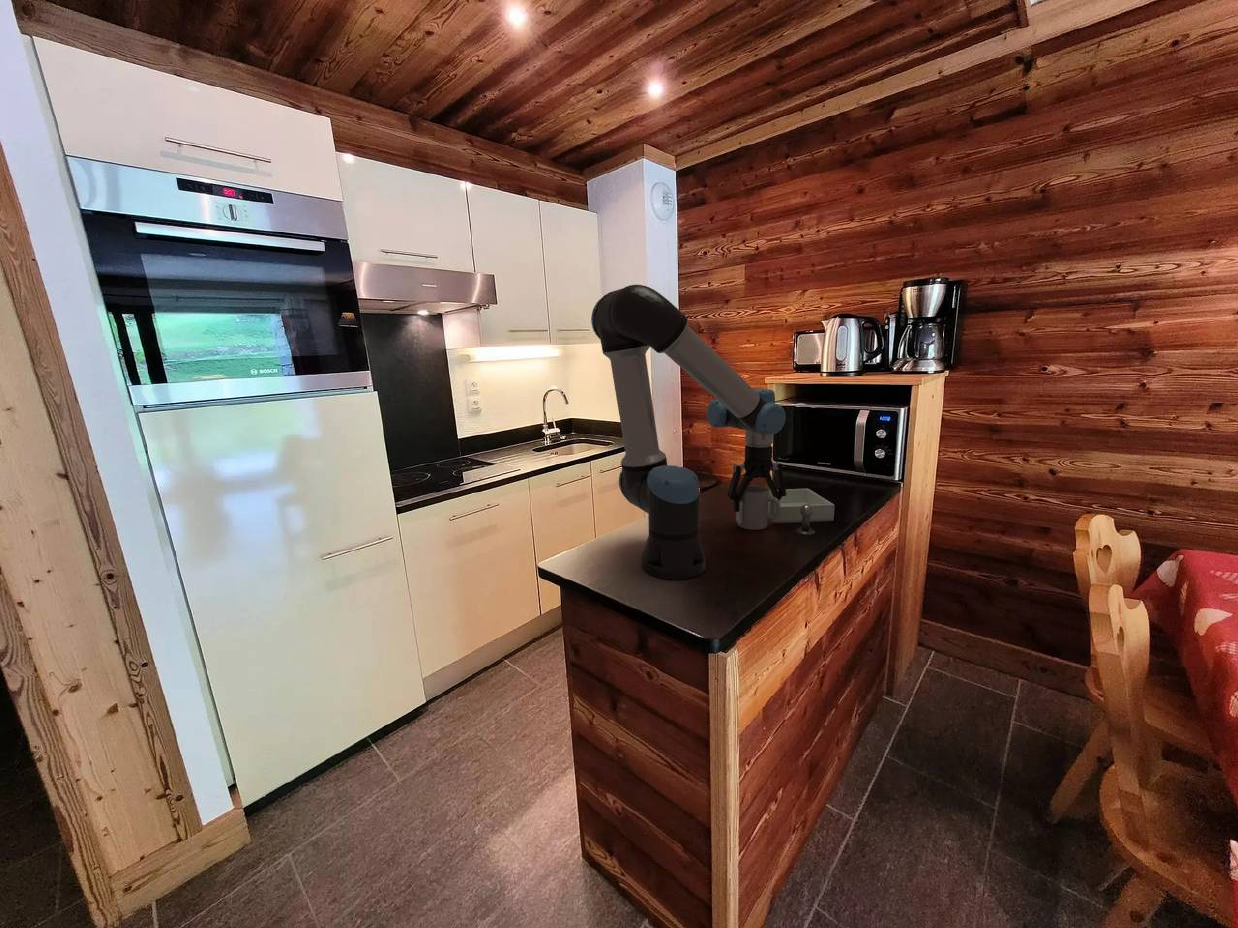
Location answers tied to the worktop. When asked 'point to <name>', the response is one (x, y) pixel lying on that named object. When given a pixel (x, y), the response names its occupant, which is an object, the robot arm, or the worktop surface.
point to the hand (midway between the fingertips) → (755, 520)
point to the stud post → (806, 520)
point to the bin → (800, 497)
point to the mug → (757, 508)
